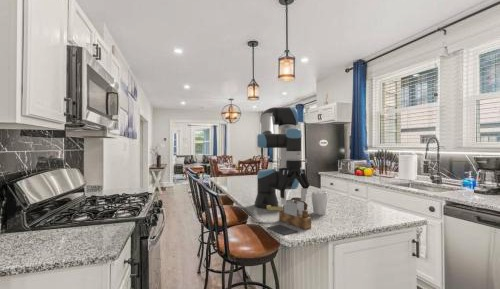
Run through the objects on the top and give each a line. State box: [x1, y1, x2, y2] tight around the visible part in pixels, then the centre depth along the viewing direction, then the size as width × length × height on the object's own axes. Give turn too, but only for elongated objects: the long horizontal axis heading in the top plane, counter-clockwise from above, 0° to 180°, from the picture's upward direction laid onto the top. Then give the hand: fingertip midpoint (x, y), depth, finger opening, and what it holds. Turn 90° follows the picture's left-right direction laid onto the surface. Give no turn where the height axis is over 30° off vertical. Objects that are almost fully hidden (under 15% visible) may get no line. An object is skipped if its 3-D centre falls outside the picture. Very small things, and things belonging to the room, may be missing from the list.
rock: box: [290, 197, 308, 211], centre depth 145 cm, size 14×11×10 cm
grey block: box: [284, 199, 304, 217], centre depth 130 cm, size 9×5×7 cm, turn 35°
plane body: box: [278, 205, 312, 230], centre depth 130 cm, size 18×4×8 cm, turn 35°
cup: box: [311, 190, 329, 216], centre depth 150 cm, size 9×9×12 cm
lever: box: [266, 205, 283, 211], centre depth 137 cm, size 2×8×2 cm, turn 76°
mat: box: [266, 223, 298, 236], centre depth 121 cm, size 12×8×1 cm, turn 35°
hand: (293, 202), depth 130 cm, fingers open, 13 cm apart
